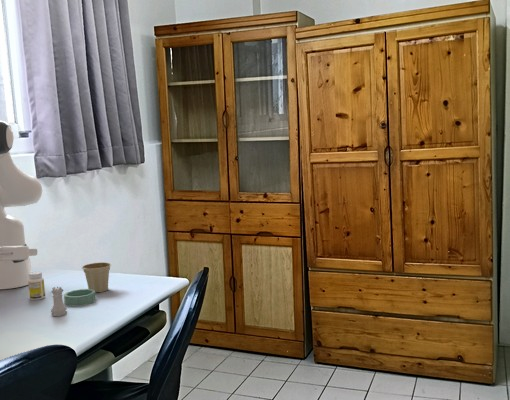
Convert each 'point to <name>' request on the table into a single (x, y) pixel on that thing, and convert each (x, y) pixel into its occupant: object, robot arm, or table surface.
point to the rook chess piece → (58, 303)
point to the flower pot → (97, 276)
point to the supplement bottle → (36, 286)
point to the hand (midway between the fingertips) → (26, 252)
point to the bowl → (79, 297)
